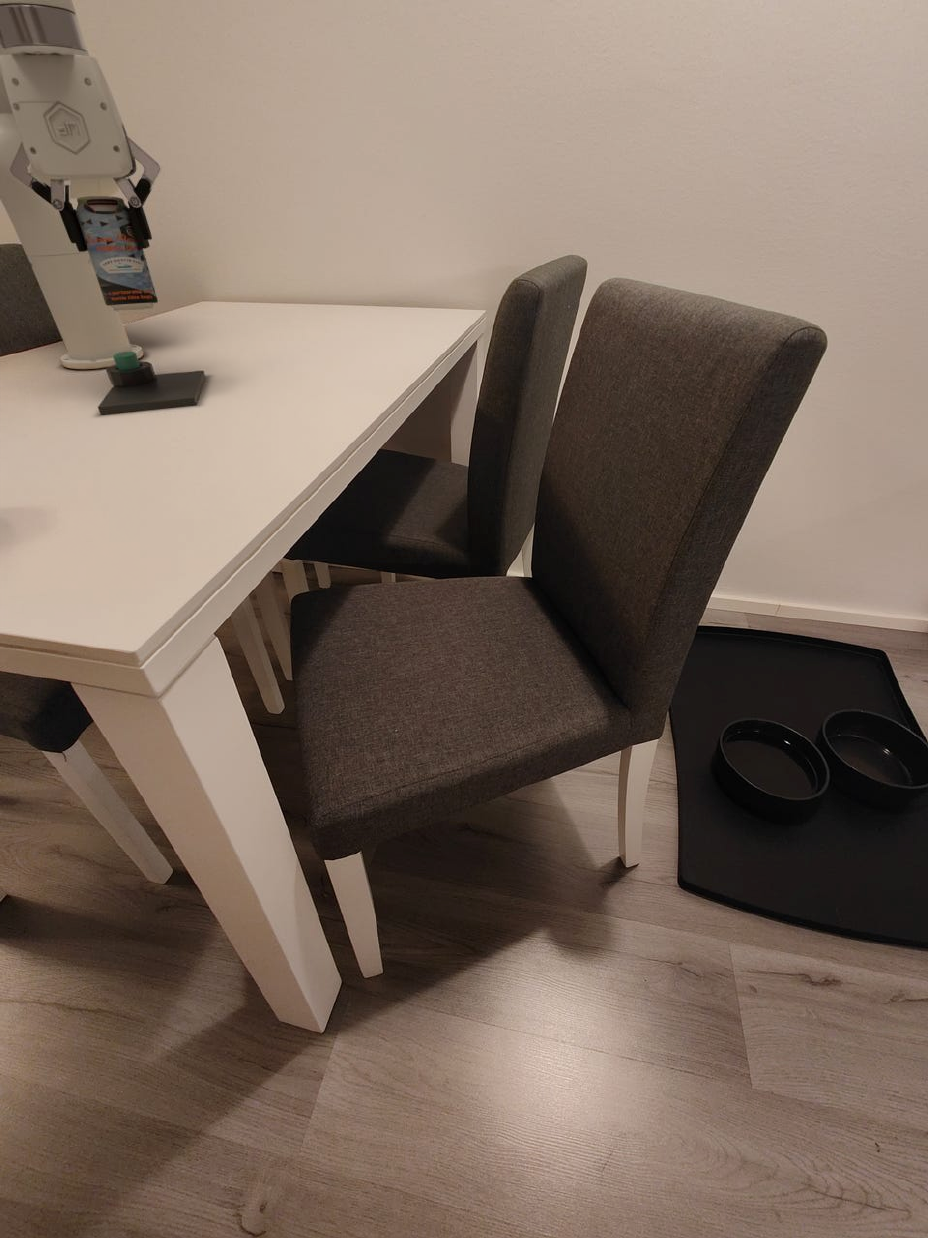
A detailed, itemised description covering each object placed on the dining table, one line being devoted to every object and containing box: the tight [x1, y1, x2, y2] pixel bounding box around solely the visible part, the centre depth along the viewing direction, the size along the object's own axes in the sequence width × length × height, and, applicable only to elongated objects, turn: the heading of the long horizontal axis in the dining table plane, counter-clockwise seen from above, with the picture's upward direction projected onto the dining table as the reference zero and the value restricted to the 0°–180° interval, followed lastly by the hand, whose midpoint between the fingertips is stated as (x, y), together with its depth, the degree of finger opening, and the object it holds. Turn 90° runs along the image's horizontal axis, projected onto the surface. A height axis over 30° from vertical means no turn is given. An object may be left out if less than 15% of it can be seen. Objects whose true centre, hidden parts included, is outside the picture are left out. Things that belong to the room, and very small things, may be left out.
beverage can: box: [75, 196, 159, 312], centre depth 69 cm, size 6×7×12 cm
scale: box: [97, 360, 206, 416], centre depth 80 cm, size 14×12×3 cm
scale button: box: [113, 352, 141, 370], centre depth 82 cm, size 3×3×2 cm
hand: (114, 247), depth 69 cm, fingers closed on beverage can, 6 cm apart
